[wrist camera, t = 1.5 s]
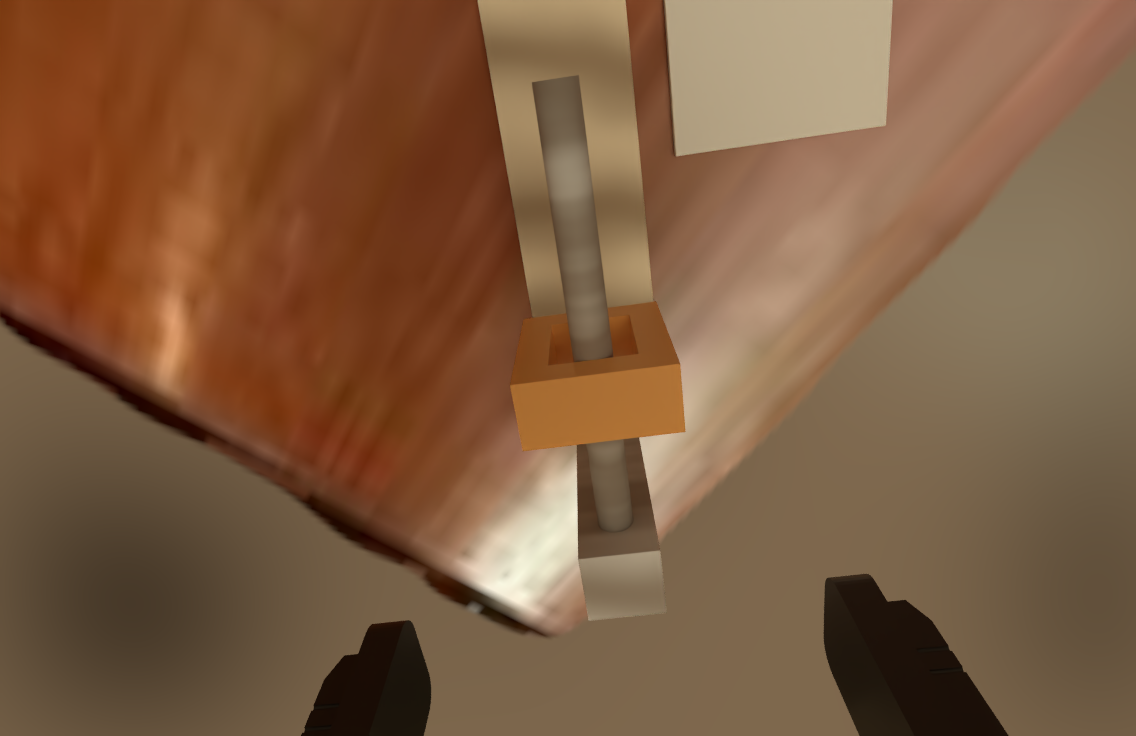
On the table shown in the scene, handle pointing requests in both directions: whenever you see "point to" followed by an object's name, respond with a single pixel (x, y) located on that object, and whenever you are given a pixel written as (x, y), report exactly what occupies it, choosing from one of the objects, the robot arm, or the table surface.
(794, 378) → the table surface
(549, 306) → the hook stand
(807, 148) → the table surface
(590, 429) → the loop
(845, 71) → the mat
